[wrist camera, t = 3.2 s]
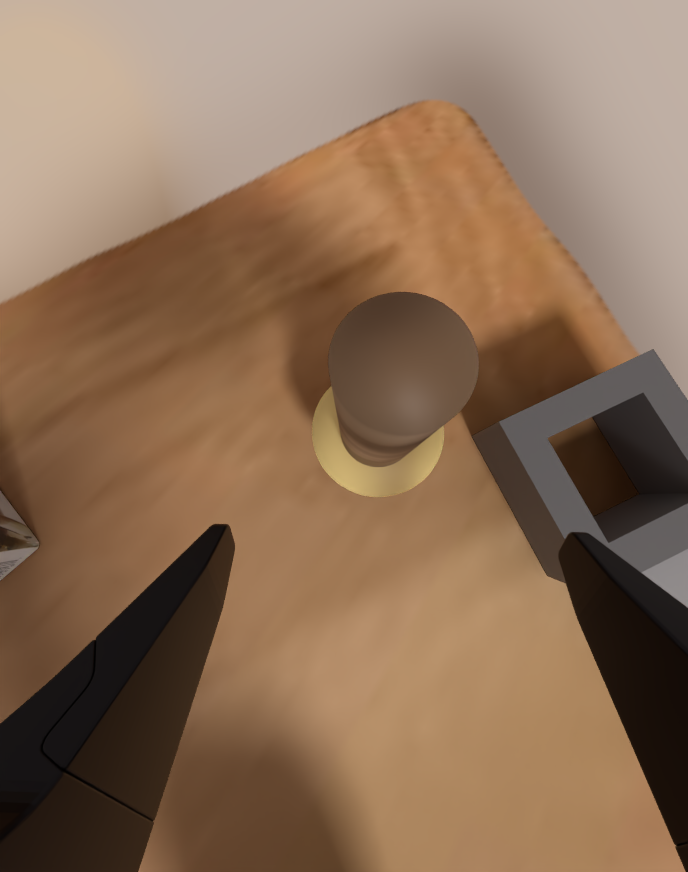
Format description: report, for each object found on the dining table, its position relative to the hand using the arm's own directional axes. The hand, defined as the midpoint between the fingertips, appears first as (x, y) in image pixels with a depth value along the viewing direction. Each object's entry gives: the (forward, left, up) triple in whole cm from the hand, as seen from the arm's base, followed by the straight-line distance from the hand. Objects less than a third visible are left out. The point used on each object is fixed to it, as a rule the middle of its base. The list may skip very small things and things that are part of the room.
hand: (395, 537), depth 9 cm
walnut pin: (+2, +4, -11) cm, 12 cm away
